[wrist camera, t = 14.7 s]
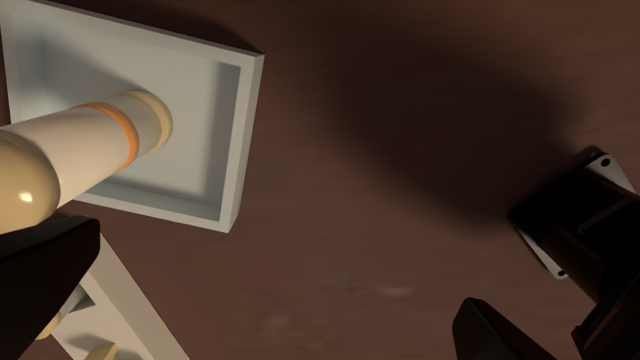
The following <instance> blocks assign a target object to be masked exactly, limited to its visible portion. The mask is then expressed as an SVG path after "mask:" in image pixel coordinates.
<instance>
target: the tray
mask: <svg viewBox="0 0 640 360" xmlns="http://www.w3.org/2000/svg"><path fill="white" fill-rule="evenodd" d="M0 27H1V36H2V45H3V54H4V63H5V71H6V80H7V89H8V98H9V107H10V116H11V124H14V123H18V122H21V121H25V120H29V119H33V118H36V117H40V116H44V115H48V114H51V113H55V112H59V111H63V110H66V109H69V108H71V107H73V106H77V105H80V104H84V103H88V102H96V101H100V100H104V99H108V98H110V97H111V96H113V95H115V94H119V93H122V92H126V91H130V90H144V91H147V92H150V93H152V94H154V95H156V96H157V97H158V98H160V99H161V100H162V101H163V102H164V103H165V104H166V106H167V107H168V109H169V111H170V113H171V116H172V119H173V131H172V134H171V137H170V139H169V140H168V141H167V142H166V143H165V144H164V145H162V146H161V147H159V148H158V149H156V150H155V151H153V152H151V153H149V154H146V155H143V156H141V157H140V158H138V159H136V160H135V161H133V162H132V163H131V164H130V165H129V166H127V167H126V168H124V169H122V170H121V171H119V172H117V173H115V174H112V175H110V176H109V177H107V178H106V179H104V180H102V181H101V182H99V183H98V184H96V185H94V186H93V187H91V188H89V189H88V190H86V191H85V192H83V193H81V194H80V195H78V196H76V197H75V198H73V199H74V200H79V201H83V202H88V203H92V204H97V205H102V206H106V207H111V208H115V209H120V210H125V211H129V212H134V213H138V214H143V215H148V216H152V217H157V218H161V219H166V220H171V221H175V222H180V223H184V224H189V225H194V226H198V227H203V228H207V229H212V230H217V231H221V232H226V233H228V232H229V230H230V229H231V227H232V225H233V223H234V221H235V219H236V217H237V215H238V213H239V208H240V202H241V196H242V190H243V184H244V178H245V172H246V166H247V160H248V153H249V147H250V141H251V135H252V129H253V123H254V117H255V111H256V105H257V98H258V92H259V86H260V80H261V74H262V68H263V62H264V56H265V55H263V54H259V53H255V52H251V51H247V50H243V49H239V48H235V47H231V46H227V45H223V44H219V43H215V42H211V41H207V40H203V39H199V38H195V37H191V36H187V35H183V34H179V33H175V32H171V31H167V30H163V29H159V28H155V27H151V26H147V25H143V24H139V23H135V22H131V21H127V20H123V19H119V18H115V17H111V16H107V15H103V14H99V13H95V12H91V11H87V10H83V9H79V8H75V7H71V6H67V5H63V4H59V3H55V2H51V1H47V0H0Z"/></svg>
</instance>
